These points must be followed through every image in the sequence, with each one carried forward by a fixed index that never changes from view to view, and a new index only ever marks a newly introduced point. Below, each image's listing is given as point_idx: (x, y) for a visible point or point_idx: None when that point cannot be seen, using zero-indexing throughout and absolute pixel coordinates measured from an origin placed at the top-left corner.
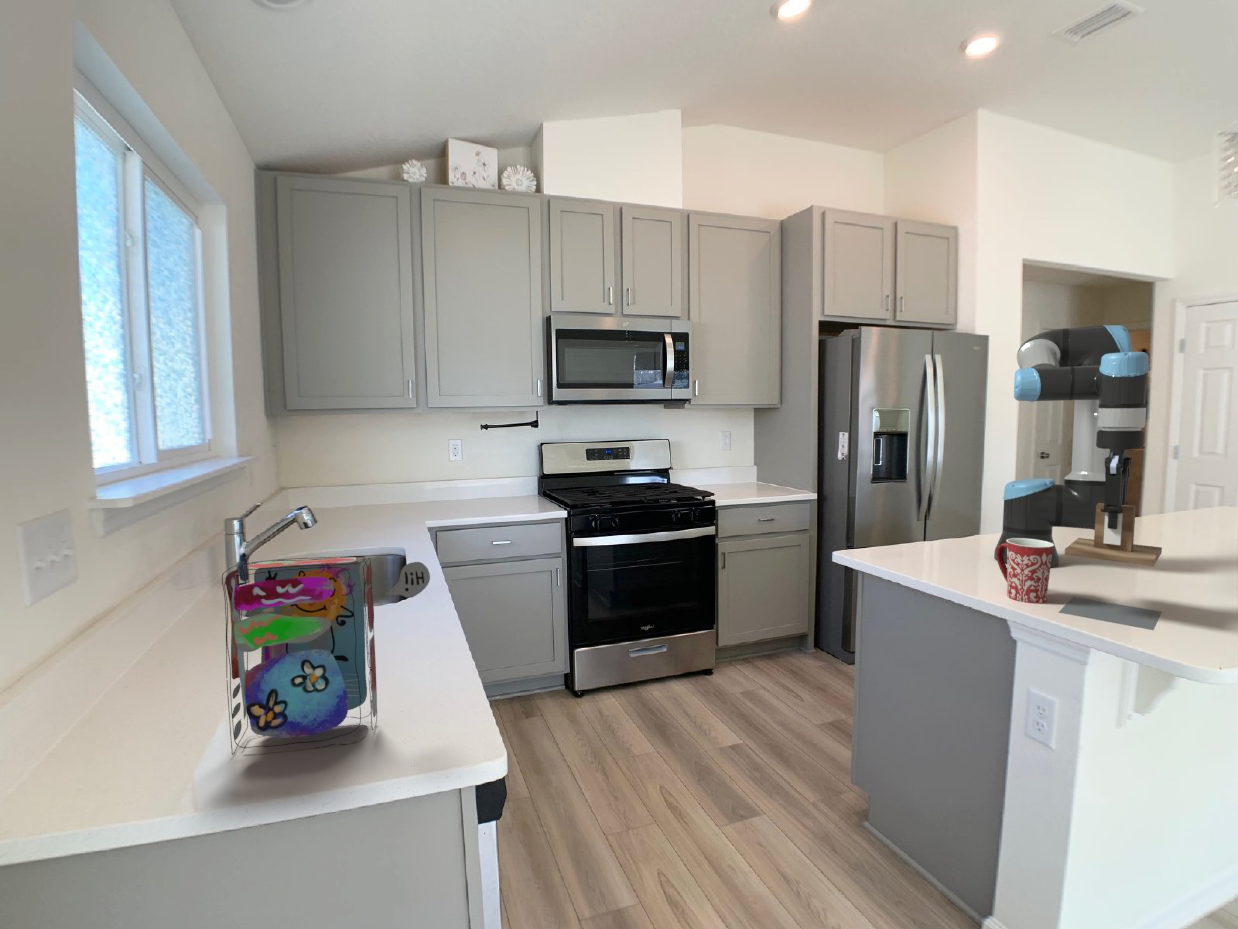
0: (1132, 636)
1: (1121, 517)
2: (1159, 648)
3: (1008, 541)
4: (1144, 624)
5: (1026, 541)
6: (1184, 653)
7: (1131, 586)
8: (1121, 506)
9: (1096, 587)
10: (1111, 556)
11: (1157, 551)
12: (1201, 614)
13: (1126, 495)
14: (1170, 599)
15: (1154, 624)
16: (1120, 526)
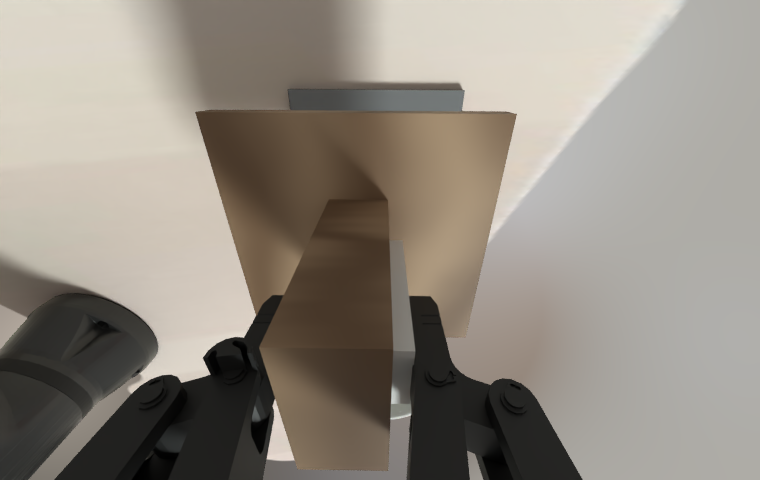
0: None
1: (412, 331)
2: (573, 67)
3: (407, 415)
4: (430, 110)
5: None
6: (588, 16)
7: (91, 168)
8: (428, 406)
9: (176, 220)
10: (485, 238)
11: (305, 119)
12: (204, 3)
13: (115, 475)
14: (124, 83)
15: (416, 92)
16: (408, 294)
